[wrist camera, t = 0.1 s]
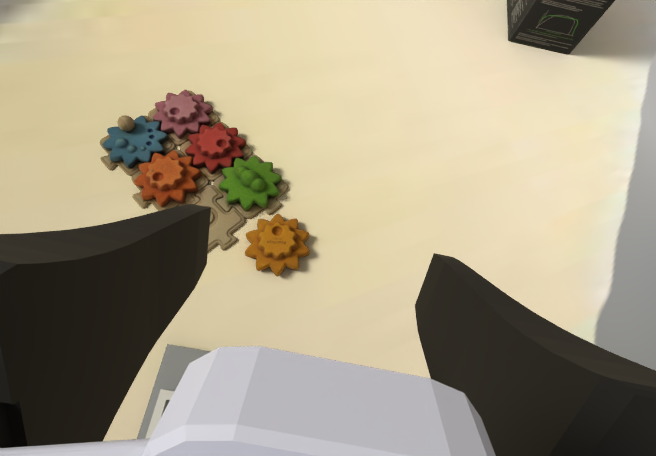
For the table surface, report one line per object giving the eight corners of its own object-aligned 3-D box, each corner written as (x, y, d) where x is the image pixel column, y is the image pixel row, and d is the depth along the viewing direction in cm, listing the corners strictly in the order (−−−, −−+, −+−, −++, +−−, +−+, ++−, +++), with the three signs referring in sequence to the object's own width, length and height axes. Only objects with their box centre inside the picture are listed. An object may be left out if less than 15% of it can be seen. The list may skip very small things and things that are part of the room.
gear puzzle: (339, 235, 48) (344, 221, 44) (240, 322, 42) (236, 315, 38) (191, 90, 55) (185, 68, 51) (89, 148, 49) (73, 128, 45)
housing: (297, 529, 35) (300, 555, 29) (119, 502, 34) (88, 523, 28) (321, 371, 40) (327, 367, 35) (169, 345, 40) (152, 337, 34)
